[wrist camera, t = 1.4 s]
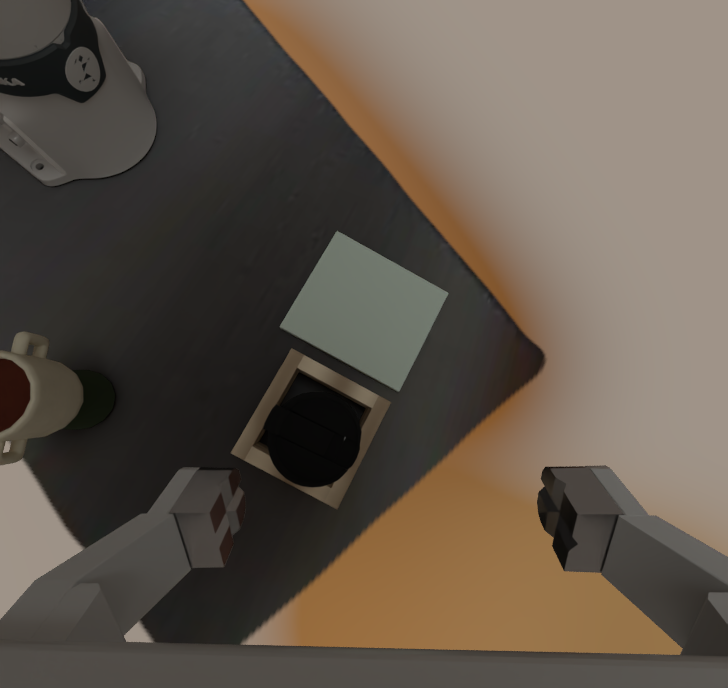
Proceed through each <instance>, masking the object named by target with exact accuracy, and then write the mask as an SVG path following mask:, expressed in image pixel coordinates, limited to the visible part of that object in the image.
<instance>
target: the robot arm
mask: <svg viewBox="0 0 728 688" xmlns="http://www.w3.org/2000/svg"><path fill="white" fill-rule="evenodd" d="M156 127H157V123H156V115H155V112H154V109H153V107H152V105H151V103H150V101H149V99H148V97H147V94H146V79H145V75H144V73H143V72H142V70H141V68H140V67H139V66H138V65H137V64H135V63H132V62H129V61H127V60H126V58H125V57H124V55H123V54H122V52H121V51H120V49H119V47H118V46H117V44H116V43H115V41H114V40H113V38H112V37H111V35H110V34H109V32H108V31H107V29H106V27H105V26H104V25H103V23H102V22H101V21H100V20H99V19H98V18H96V17H95V18H93V17H92V16H90V15H89V14H88V12H87V10H86V7H85V6H84V4H83V2H82V0H0V149H2V150H3V151H4V152H5V153H6V154H8V155H9V156H10V157H11V158H13V159H14V160H15V161H16V162H17V163H19V164H20V165H21V166H22V167H23V168H25V169H26V170H27V171H28V172H29V173H31V174H32V175H33V176H34V177H35V178H37V179H38V180H39V181H40V182H41V183H43V184H44V185H46V186H57V185H61V184H64V183H67V182H69V181H72V180H74V179H85V178H103V177H108V176H112V175H115V174H118V173H121V172H123V171H125V170H127V169H129V168H131V167H132V166H134V165H135V164H136V163H138V162H139V161H140V160H141V159H142V158H143V157H144V156H145V155H146V153H147V152H148V151H149V149H150V147H151V145H152V143H153V141H154V138H155V134H156ZM42 167H44V168H43V169H42V170H40V169H41V168H42ZM541 480H542V482H543V484H544V485H545V487H544V488H543V489H541V491H539V493H538V500H537V505H538V514H539V517H540V521H541V523H542V526H543V528H544V530H545V531H546V532H547V533H549V534H550V535H551V536H552V537H554V540H553V545H552V546H553V549H554V551H555V553H556V555H557V557H558V559H559V561H560V563H561V565H562V567H563V570H564V571H574V572H598V573H602V575H603V576H604V577H605V578H606V579H607V580H608V581H609V582H610V583H611V584H612V585H613V586H615V587H616V588H617V589H618V590H619V591H620V592H621V593H622V594H623V595H624V596H626V597H627V598H628V599H629V600H630V601H631V602H632V603H633V604H634V605H636V606H637V607H638V608H639V609H640V610H641V611H642V612H643V613H644V614H645V615H646V616H648V617H649V618H650V619H651V620H652V621H653V622H654V623H655V624H656V625H658V626H659V627H660V628H661V629H662V630H663V631H664V632H665V633H666V634H668V636H670V637H671V638H672V639H673V640H674V641H675V642H676V643H677V644H678V645H680V646H681V647H682V648H683V649H682V652H681V654H680V655H655V654H612V653H611V654H610V653H571V652H569V653H568V652H525V651H523V652H522V651H478V650H476V651H475V650H434V649H394V648H353V647H351V648H350V647H313V646H312V647H311V646H271V645H230V644H187V643H144V642H126V640H125V638H124V635H125V634H126V633H127V632H128V631H129V630H130V629H131V628H132V627H133V626H134V625H135V624H136V623H137V622H138V621H139V620H140V619H141V618H142V617H143V616H144V615H145V614H146V613H147V612H148V611H149V610H150V609H151V608H152V607H153V606H154V605H155V604H156V603H158V602H159V601H160V600H161V599H162V598H163V597H164V596H165V595H166V594H167V593H168V592H169V591H170V590H171V589H172V588H173V587H174V586H175V585H176V584H177V583H178V582H179V581H180V580H181V579H182V578H183V577H184V576H185V575H186V574H187V573H188V572H189V571H190V570H191V568H205V567H224V566H225V564H226V561H227V559H228V557H229V554H230V552H231V549H232V547H233V545H234V542H233V538H232V535H233V534H234V533H236V532H237V531H238V530H239V529H240V528H241V525H242V523H243V520H244V515H245V510H246V499H245V494H244V492H243V491H242V490H241V489H240V488H239V487H238V486H239V484H240V482H241V476H240V472H239V470H238V469H236V468H214V467H201V468H196V467H183V468H181V469H179V470H178V471H177V473H176V474H175V475H174V477H173V478H172V480H171V481H170V482H169V484H168V485H167V486H166V488H165V489H164V491H163V492H162V493H161V495H160V496H159V498H158V499H157V500H156V502H155V503H154V504H153V506H152V507H151V509H150V510H149V511H148V513H147V514H140V515H138V516H137V517H135V518H134V519H132V520H130V521H129V522H127V523H126V524H124V525H122V526H121V527H119V528H118V529H116V530H115V531H113V532H111V533H110V534H108V535H107V536H105V537H103V538H102V539H100V540H99V541H97V542H95V543H94V544H92V545H91V546H89V547H87V548H86V549H84V550H83V551H81V552H80V553H78V554H77V555H75V556H73V557H72V558H70V559H68V560H67V561H65V562H64V563H62V564H60V565H59V566H57V567H56V568H54V569H53V570H51V571H49V572H48V573H46V574H45V575H43V576H41V577H40V578H38V579H37V580H35V581H34V582H33V583H32V584H31V586H30V587H29V588H28V589H27V590H26V591H25V592H24V593H23V595H22V596H21V597H20V598H19V599H18V600H17V602H16V603H15V604H14V605H13V606H12V607H11V608H10V610H8V612H7V613H6V614H5V615H4V616H3V617H2V618H1V620H0V688H728V557H727V556H725V555H723V554H722V553H720V552H718V551H716V550H715V549H713V548H711V547H709V546H708V545H706V544H704V543H703V542H701V541H699V540H697V539H696V538H694V537H692V536H690V535H689V534H687V533H685V532H683V531H682V530H680V529H678V528H676V527H675V526H673V525H671V524H669V523H668V522H666V521H664V520H663V519H661V518H659V517H657V516H649V515H648V514H647V512H646V511H645V510H644V509H643V507H642V506H641V505H640V504H639V502H638V501H637V500H636V499H635V498H634V496H633V495H632V494H631V493H630V491H629V490H628V489H627V488H626V487H625V485H624V484H623V483H622V482H621V481H620V479H619V478H618V477H617V476H616V474H615V473H614V472H613V471H612V470H611V469H610V468H609V467H607V466H585V467H583V466H579V467H545V468H544V470H543V471H542V476H541Z"/></svg>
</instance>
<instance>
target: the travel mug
mask: <svg viewBox="0 0 728 688" xmlns="http://www.w3.org/2000/svg"><path fill="white" fill-rule="evenodd" d="M263 429H265V430H267V431H268V451H269V455H270V458H271V460H272V463H273V465H274V466H275V468H276V469H277V470H278V472H279V473H280V474H281V475H282V476H283V477H284V478H285V479H287V480H289V481H290V482H292V483H294V484H297V485H300V486H303V487H311V488H313V487H322V486H326V485H329V484H332V483H334V482H336V481H338V480H339V479H340V478H341V477H342V476H343V475H344V474H345V473H346V472H347V471H348V469H349V468H351V467H352V466H353V464H354V462H355V461H356V459H357V456H358V454H359V451H360V442H361V433H362V431H361V427H360V422H359V420H358V418H357V416H356V414H355V412H354V411H353V409H352V408H351V407H350V406H349V405H348V404H347V403H346V402H345V401H344V400H342V399H341V398H339V397H337V396H335V395H332V394H330V393H325V392H308V393H303V394H300V395H298V396H296V397H294V398H292V399H291V400H289V401H288V402H286V403H285V404H284V405H283V406H282V407H280V406H279V405H277V404H276V405H275V406H274V407H273V408H272V410H271V411H270V413H269V415H268V417H267V419H266V421H265V423H264V427H263Z"/></svg>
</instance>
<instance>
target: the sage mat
mask: <svg viewBox="0 0 728 688" xmlns="http://www.w3.org/2000/svg"><path fill="white" fill-rule="evenodd" d="M447 295H448V293H447V292H446V291H444V290H442V289H440V288H438V287H437V286H435V285H433V284H431V283H429V282H428V281H426V280H424V279H422V278H421V277H419V276H417V275H415V274H413V273H412V272H410V271H408V270H406V269H404V268H403V267H401V266H399V265H397V264H395V263H394V262H392V261H390V260H388V259H386V258H385V257H383V256H381V255H379V254H378V253H376V252H374V251H372V250H370V249H369V248H367V247H365V246H363V245H361V244H360V243H358V242H356V241H354V240H352V239H351V238H349V237H347V236H345V235H343V234H342V233H340V232H338V231H337V232H336V233H335V235H334V237H333V238H332V240H331V242H330V243H329V245H328V247H327V248H326V250H325V252H324V253H323V255H322V257H321V258H320V260H319V262H318V263H317V265H316V267H315V268H314V270H313V272H312V273H311V275H310V277H309V278H308V280H307V282H306V283H305V285H304V287H303V288H302V290H301V292H300V293H299V295H298V297H297V298H296V300H295V302H294V303H293V305H292V307H291V308H290V310H289V312H288V313H287V315H286V317H285V318H284V320H283V322H282V323H281V325H280V328H281V329H283V330H284V331H286V332H288V333H290V334H292V335H294V336H295V337H297V338H299V339H301V340H303V341H305V342H306V343H308V344H310V345H312V346H314V347H316V348H317V349H319V350H321V351H323V352H325V353H327V354H328V355H330V356H332V357H334V358H336V359H338V360H339V361H341V362H343V363H345V364H347V365H349V366H350V367H352V368H354V369H356V370H358V371H360V372H361V373H363V374H365V375H367V376H369V377H371V378H373V379H374V380H376V381H378V382H380V383H382V384H384V385H385V386H387V387H389V388H391V389H393V390H395V391H396V392H399V391H400V389H401V387H402V385H403V383H404V381H405V379H406V377H407V375H408V373H409V371H410V369H411V367H412V365H413V363H414V361H415V359H416V357H417V355H418V353H419V351H420V349H421V347H422V345H423V343H424V341H425V339H426V337H427V335H428V333H429V331H430V329H431V327H432V325H433V323H434V321H435V319H436V317H437V315H438V313H439V311H440V309H441V307H442V305H443V303H444V301H445V299H446V297H447Z"/></svg>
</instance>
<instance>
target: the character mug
mask: <svg viewBox="0 0 728 688" xmlns="http://www.w3.org/2000/svg"><path fill="white" fill-rule="evenodd" d="M29 344H31V345H34V350H33V354H32V356H29V355H27V350H28V346H29ZM48 348H49V340H48V339H47V338H46V337H44V336H41V335H37V334H33V333H30V332H26V331H25V332H20V333H17V334H16V336H15V338H14V341H13V345H12V349H11V352H7V351H1V350H0V465H5V464H10V463H14V462H17V461H19V460H21V459H22V457H23V455H24V452H25V448H26V443H27V439H29V438H38V437H45V436H47V435H49V434H52V433H54V432H56V431H58V430H60V429H72V430H77V429H85V428H91V427H92V426H94V425H96V424H98V423H99V422H101V421H103V420H104V419H105V418H106V417H107V415H108V414H109V413H110V411H111V410H112V409H113V405H114V400H115V393H114V390H113V387H112V384H111V383H110V382H109V381H108V380H107V379H106V378H105V377H104V376H103V375H102V374H100V373H96V372H93V371H90V370H70V369H69V368H68V367H66V366H65V365H64V364H62V363H60V362H56V361H53V360H49V359H46V357H47V352H48ZM6 441H12V442H11V446H10V451H9V452H6V453H3V450H4V446H5V442H6Z"/></svg>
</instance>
